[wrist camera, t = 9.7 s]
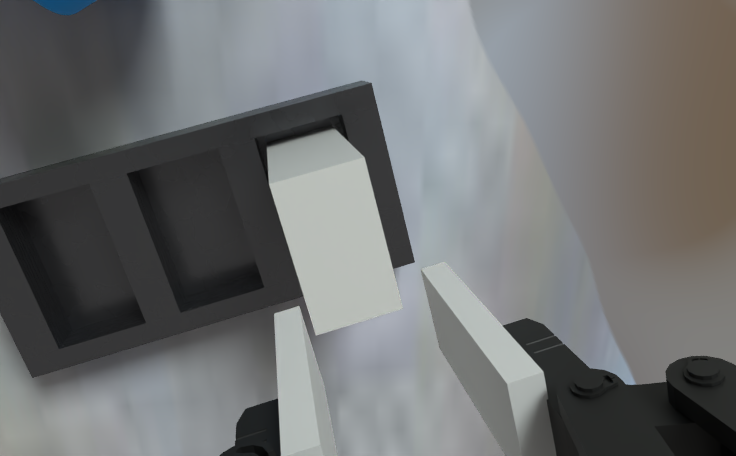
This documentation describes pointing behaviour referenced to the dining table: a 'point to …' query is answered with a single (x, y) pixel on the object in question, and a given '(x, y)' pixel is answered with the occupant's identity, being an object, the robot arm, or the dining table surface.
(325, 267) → the pale grey rectangular block
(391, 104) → the dining table surface
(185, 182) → the rack
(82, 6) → the alarm clock
